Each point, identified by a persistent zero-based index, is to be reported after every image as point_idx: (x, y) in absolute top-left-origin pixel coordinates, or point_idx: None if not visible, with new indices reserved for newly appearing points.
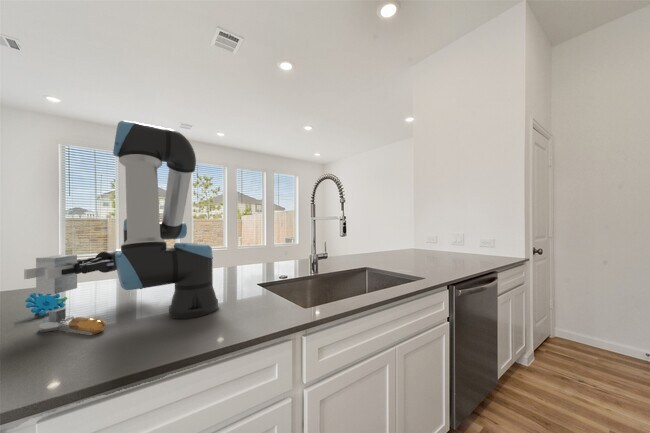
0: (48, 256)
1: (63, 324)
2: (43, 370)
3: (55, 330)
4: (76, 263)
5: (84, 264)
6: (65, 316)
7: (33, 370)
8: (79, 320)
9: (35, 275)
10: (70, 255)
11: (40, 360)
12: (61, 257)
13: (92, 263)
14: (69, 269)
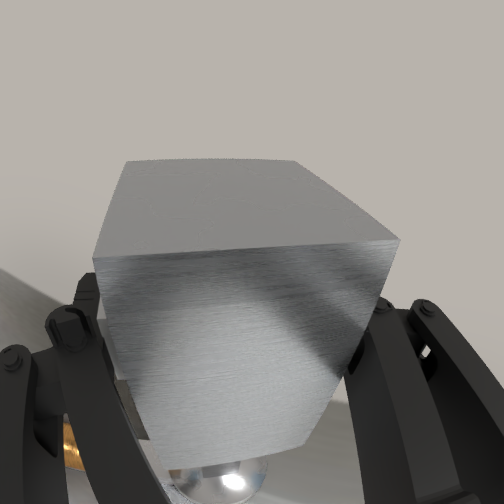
0: (330, 188)
1: (142, 440)
2: (11, 310)
3: None
4: (61, 310)
5: (69, 418)
6: (238, 493)
7: (24, 309)
8: (65, 426)
9: None
10: (162, 229)
11: (39, 329)
12: (119, 180)
13: (13, 465)
14: (77, 297)
